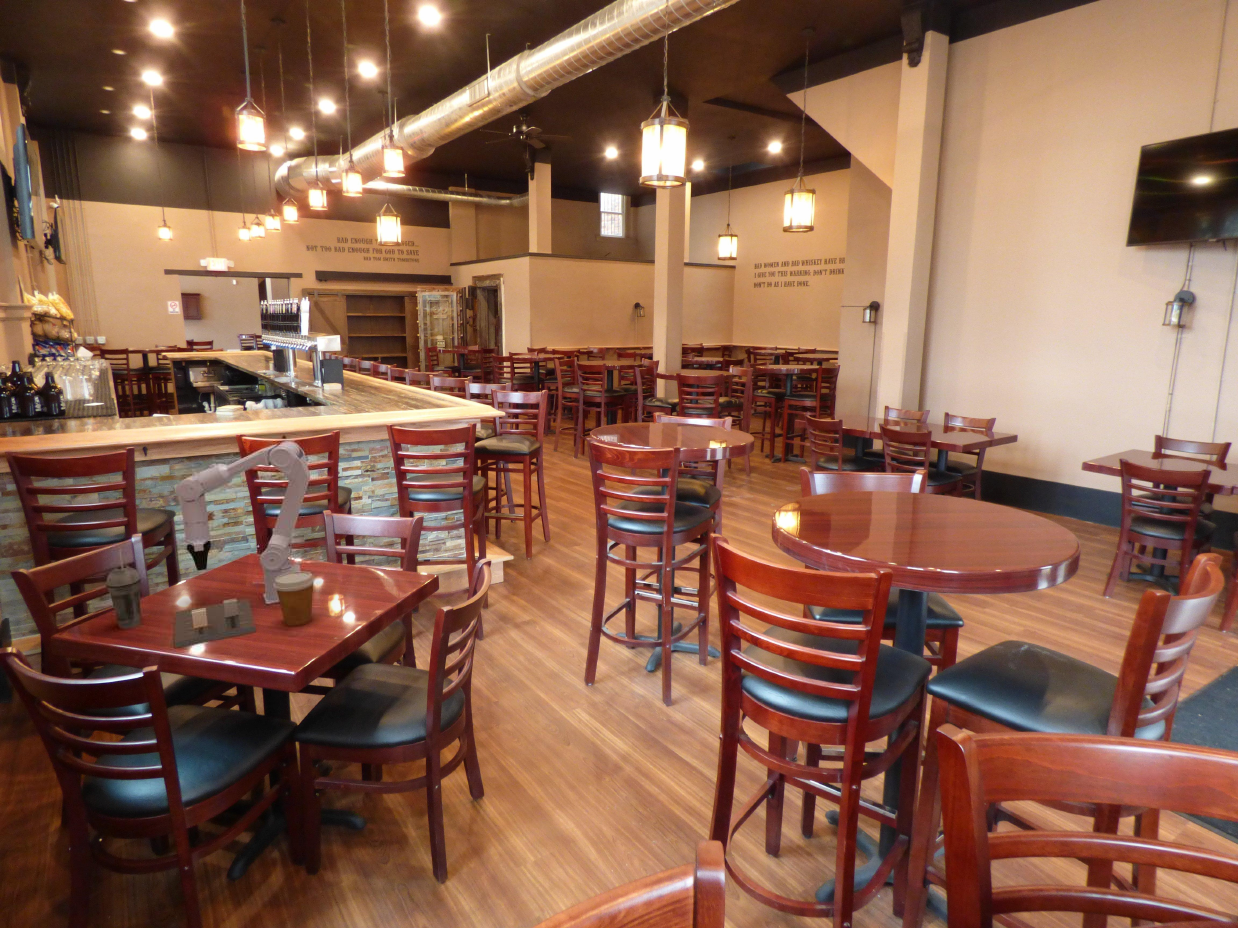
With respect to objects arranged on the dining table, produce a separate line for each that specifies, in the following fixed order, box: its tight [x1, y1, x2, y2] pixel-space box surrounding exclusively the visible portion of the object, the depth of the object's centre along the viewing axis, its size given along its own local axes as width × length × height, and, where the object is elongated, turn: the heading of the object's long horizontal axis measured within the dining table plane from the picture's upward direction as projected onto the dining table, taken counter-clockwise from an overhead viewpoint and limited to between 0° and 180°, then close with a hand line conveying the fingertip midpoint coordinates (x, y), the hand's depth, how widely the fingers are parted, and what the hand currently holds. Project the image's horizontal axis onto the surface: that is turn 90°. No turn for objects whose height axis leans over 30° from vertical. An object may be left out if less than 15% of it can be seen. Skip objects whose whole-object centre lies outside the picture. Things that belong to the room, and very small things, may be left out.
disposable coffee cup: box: [274, 570, 316, 627], centre depth 180 cm, size 10×10×12 cm
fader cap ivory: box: [192, 608, 208, 628], centre depth 174 cm, size 3×2×4 cm, turn 121°
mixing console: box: [174, 598, 256, 649], centre depth 179 cm, size 17×21×2 cm
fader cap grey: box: [222, 598, 239, 618], centre depth 181 cm, size 3×2×4 cm, turn 121°
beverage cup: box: [105, 548, 142, 630], centre depth 177 cm, size 7×7×20 cm
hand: (201, 569), depth 191 cm, fingers closed
